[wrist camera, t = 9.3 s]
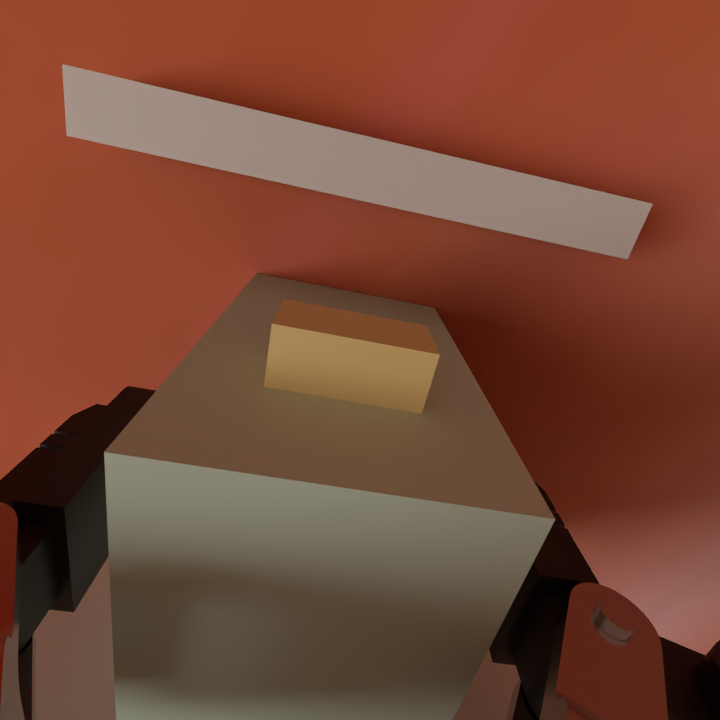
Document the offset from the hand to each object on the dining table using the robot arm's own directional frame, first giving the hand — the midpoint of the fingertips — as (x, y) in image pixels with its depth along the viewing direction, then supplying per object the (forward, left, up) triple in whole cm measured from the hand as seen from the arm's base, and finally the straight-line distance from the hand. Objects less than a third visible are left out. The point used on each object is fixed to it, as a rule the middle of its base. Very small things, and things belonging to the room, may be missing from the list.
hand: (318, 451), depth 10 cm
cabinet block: (0, 0, -3) cm, 3 cm away
